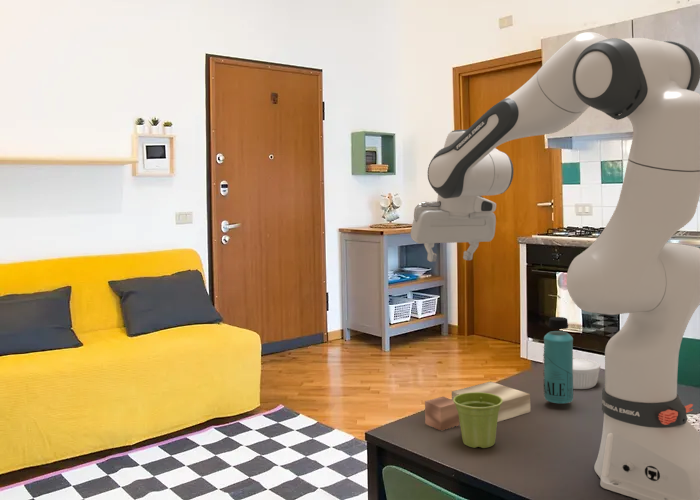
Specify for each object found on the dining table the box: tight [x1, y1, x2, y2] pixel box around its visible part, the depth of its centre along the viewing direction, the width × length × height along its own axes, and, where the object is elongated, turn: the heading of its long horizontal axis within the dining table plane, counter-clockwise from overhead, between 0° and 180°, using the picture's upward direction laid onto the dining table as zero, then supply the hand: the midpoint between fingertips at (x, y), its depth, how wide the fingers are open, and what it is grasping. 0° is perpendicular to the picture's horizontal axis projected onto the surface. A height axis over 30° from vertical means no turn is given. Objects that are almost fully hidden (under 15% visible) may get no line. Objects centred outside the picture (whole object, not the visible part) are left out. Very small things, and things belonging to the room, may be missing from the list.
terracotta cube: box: [424, 396, 460, 431], centre depth 136 cm, size 5×5×5 cm
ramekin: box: [573, 357, 601, 390], centre depth 160 cm, size 11×11×5 cm
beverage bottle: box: [542, 316, 574, 404], centre depth 144 cm, size 6×7×20 cm
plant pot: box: [453, 392, 503, 449], centre depth 125 cm, size 9×9×9 cm
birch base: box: [451, 381, 531, 423], centre depth 143 cm, size 12×12×4 cm
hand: (449, 260), depth 150 cm, fingers open, 8 cm apart
